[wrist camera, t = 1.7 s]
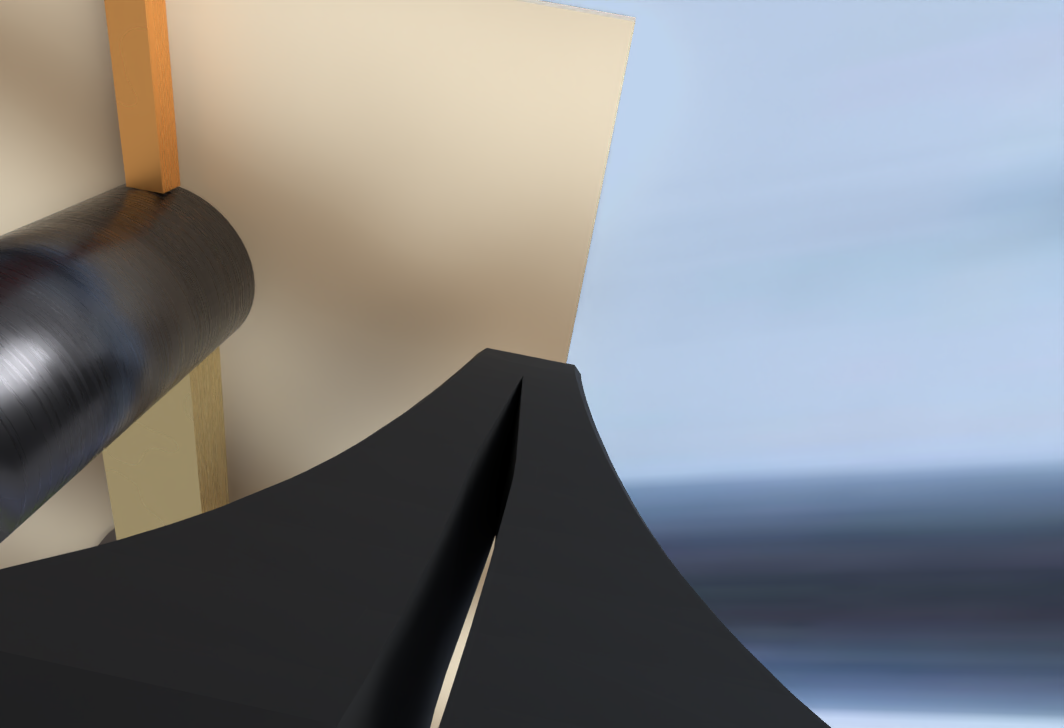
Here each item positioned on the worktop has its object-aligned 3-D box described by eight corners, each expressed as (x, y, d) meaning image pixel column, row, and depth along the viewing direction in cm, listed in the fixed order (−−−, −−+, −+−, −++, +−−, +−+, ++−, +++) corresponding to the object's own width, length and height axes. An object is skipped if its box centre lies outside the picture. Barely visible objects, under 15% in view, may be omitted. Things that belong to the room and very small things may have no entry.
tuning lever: (296, 706, 18) (172, 974, 13) (124, 668, 18) (-60, 919, 13) (291, -46, 10) (-22, -58, 5) (-13, -100, 10) (-586, -160, 5)
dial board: (481, 780, 21) (473, 822, 20) (-211, 627, 22) (-254, 660, 21) (635, 17, 11) (634, 22, 10) (-625, -208, 12) (-744, -225, 11)
